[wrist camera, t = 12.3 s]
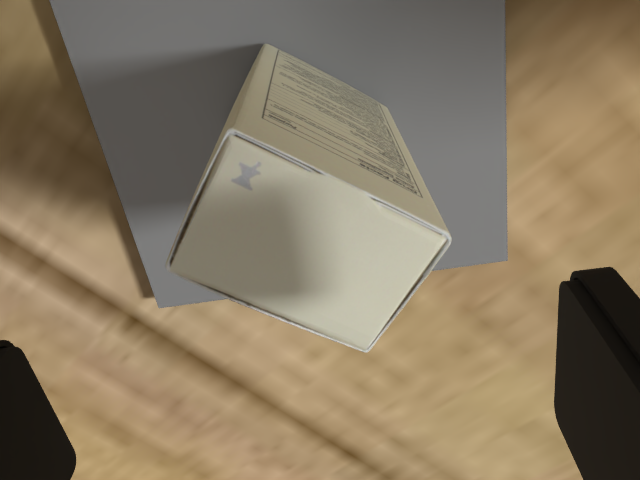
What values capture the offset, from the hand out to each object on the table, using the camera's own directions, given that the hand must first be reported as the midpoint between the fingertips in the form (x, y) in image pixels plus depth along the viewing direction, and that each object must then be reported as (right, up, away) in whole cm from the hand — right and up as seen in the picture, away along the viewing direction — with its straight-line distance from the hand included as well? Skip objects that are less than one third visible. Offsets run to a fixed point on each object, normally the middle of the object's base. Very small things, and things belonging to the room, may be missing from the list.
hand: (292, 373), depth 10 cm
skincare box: (0, +8, +15) cm, 17 cm away
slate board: (0, +8, +16) cm, 18 cm away
